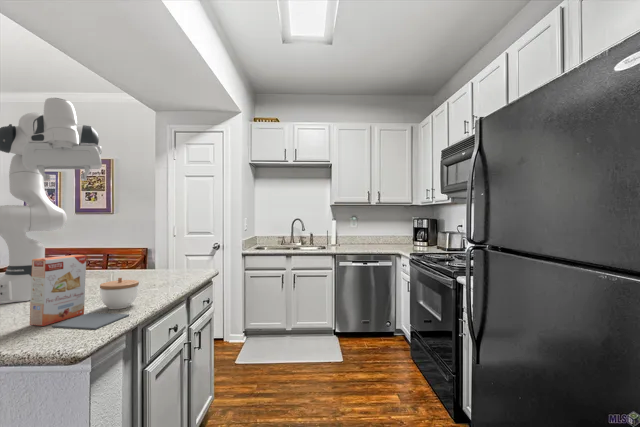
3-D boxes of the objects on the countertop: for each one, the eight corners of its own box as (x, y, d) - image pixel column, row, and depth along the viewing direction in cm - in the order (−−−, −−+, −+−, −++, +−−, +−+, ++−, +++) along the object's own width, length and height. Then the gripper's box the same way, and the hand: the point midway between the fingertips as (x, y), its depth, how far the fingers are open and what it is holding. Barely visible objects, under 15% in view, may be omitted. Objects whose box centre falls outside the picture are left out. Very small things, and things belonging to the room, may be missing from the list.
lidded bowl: (90, 311, 115) (91, 280, 115) (114, 302, 128) (115, 274, 128) (124, 311, 115) (125, 281, 115) (145, 302, 127) (145, 275, 127)
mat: (51, 327, 98) (51, 325, 98) (90, 313, 111) (90, 312, 112) (95, 329, 96) (95, 327, 96) (129, 315, 110) (129, 314, 110)
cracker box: (44, 327, 98) (45, 259, 98) (28, 325, 99) (30, 258, 99) (85, 314, 111) (87, 254, 112) (71, 312, 113) (73, 254, 113)
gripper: (100, 148, 114) (104, 183, 111) (24, 145, 102) (26, 185, 99) (100, 139, 109) (104, 175, 106) (19, 135, 97) (21, 176, 94)
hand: (66, 180), depth 103 cm, fingers open, 8 cm apart
